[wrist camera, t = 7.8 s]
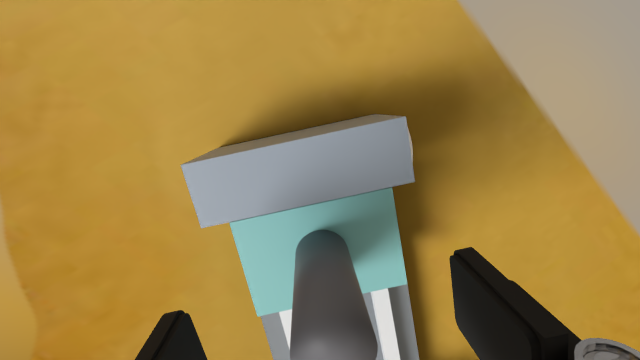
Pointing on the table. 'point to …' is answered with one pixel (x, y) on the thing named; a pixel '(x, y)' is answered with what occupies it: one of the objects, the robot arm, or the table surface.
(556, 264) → the table surface
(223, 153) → the rail track
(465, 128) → the table surface
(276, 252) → the carriage
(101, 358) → the table surface
